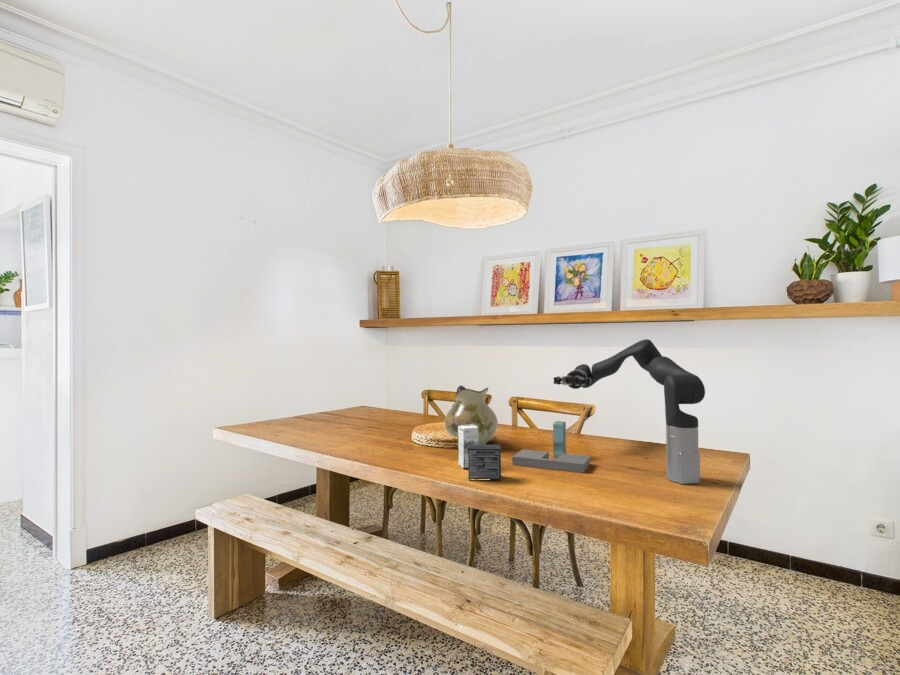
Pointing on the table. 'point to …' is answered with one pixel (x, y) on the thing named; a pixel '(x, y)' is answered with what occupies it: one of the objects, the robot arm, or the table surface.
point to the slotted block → (551, 461)
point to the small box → (484, 462)
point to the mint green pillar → (559, 438)
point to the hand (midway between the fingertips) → (568, 382)
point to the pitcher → (471, 414)
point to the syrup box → (466, 442)
